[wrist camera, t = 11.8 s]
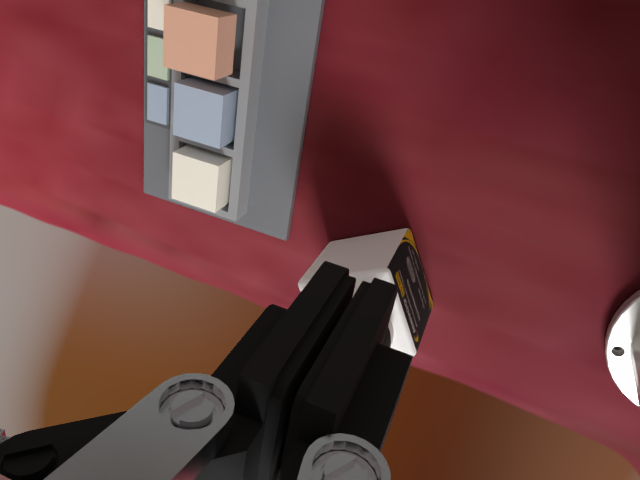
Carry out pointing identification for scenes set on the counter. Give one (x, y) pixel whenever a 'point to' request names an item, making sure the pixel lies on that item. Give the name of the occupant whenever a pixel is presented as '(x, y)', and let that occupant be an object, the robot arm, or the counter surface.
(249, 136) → the keypad board
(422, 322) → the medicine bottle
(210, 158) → the cream key
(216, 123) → the slate key
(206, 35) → the terracotta key
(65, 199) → the counter surface
